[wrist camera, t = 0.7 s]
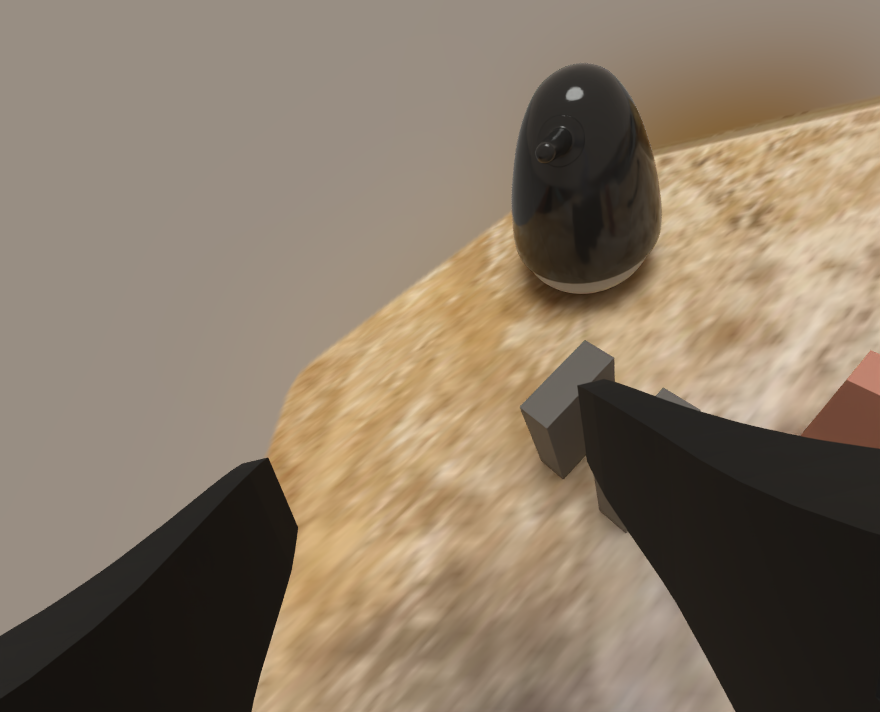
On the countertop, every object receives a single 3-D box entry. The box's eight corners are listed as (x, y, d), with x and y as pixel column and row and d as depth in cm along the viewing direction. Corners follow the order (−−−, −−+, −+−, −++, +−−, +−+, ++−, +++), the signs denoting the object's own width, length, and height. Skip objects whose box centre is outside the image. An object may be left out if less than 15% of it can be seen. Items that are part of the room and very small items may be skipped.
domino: (615, 422, 29) (614, 357, 23) (563, 479, 28) (546, 428, 22) (592, 406, 30) (584, 339, 24) (541, 460, 29) (519, 406, 23)
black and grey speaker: (505, 306, 37) (449, 137, 25) (545, 215, 41) (514, 31, 29) (640, 327, 32) (651, 131, 20) (670, 221, 36) (695, 4, 24)
